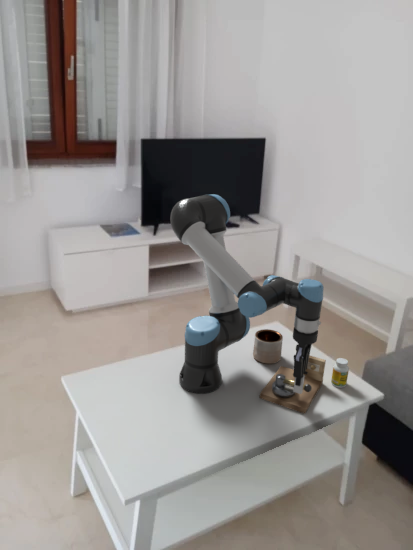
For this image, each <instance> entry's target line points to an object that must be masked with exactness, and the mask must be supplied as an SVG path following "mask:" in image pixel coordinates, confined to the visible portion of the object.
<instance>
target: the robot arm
mask: <svg viewBox="0 0 413 550" xmlns="http://www.w3.org/2000/svg"><path fill="white" fill-rule="evenodd" d="M230 210H231V209H230V206H229V204H228V203H227V201H226V199H225V198H223V197H222V196H220V195H219V194H214V193H213V194H203V195H199V196H195V197H190V198H189V197H188V198H183V199H181V200H179V201H177V202H176V203H175V205H174V206H172V209H171V212H170V218H169V220H170V221H169V222H170V226H171V228H172V231H173V233H174V235H175V236H176V238H178V240H179V242H181V243H182V244H183V245H186V246H189V247H190V249H192V251H194V253H195V254H196V255H197V257H199V258H200V259H201V260H202V261H203V265H204V266H203V267H204V272H205V276H206V280H207V281H206V282H207V287H208V292H209V297H210V301H211V302H210V303H211V306H210V307H209V309H208V313H209V315H203V316H202V315H199V316H195V317H194V318H192V319H190V320H189V321H188V322H187V323H186V327H185V332H184V362H183V364H182V367H181V370H180V372H179V378H178V381H179V385H180V386H181V387H182V388H183V389H184V390H186V391H188V392H190V393H195V394H208V393H211V392H215V391H216V390H217V389H219V388H220V387H221V385H222V383H223V381H222V380H223V378H222V377H223V376H222V372H221V369H220V368H221V367H220V365H219V352H220V351H221V350H223V349H225V348H227V347H229V346H231V345H234V344H235V343H237V342H240V341H242V339H243V338H245V337H246V336H247V335H248V333H249V331H250V328H251V320H250V318H255V317H258V316H261V315H264V314H265V313H266V312H269V311H270V310H272V309H274V308H277V307H278V306H280V305H282V304H284V305H287V306H290V307H293V308H295V314H294V322H293V329H292V330H293V332H292V339H293V340H294V341H295V342H296V343H297V344H296V345H295V352H296V353H295V354H294V355H293V370H294V373H293V377H295V382H294V390H293V392H296V393H299V394H302V392H303V384H304V377H305V375H304V374H306V375H307V373H308V372H306V370H307V366H308V360H309V355H310V354H311V349H312V345H313V344H315V343H316V342H317V340H318V335H319V328H320V327H319V326H321V324H322V322H321V321H320V318H321V311H322V305H323V300H324V285H323V283H322V282H321V281H320V280H316V279H311V278H304V279H301V280H300V281H299V282H296V281H293V280H290V279H287V278H284V277H282V276H279V275H275V274H274V275H269V276H267V277H266V279H265V280H264V281H263V283H262V286H261V285H260V284H259V282H258V281H256V280H255V279H254V278H253V276H251V275H250V273H248V271H247V270H246V269H245V268H244V267H243V266H242V265H241V264H240V263H239V262H238V261H237V260H236V259H235V257H233V256H232V254H231V253H229V252H228V251H227V248H226V245H225V238H224V236H225V234H226V232H227V231H228V230H227V226H226V225H227V223H229V220H230V218H231V211H230ZM235 297H236V298H237V301H236V298H235ZM310 356H311V355H310Z"/></svg>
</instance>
